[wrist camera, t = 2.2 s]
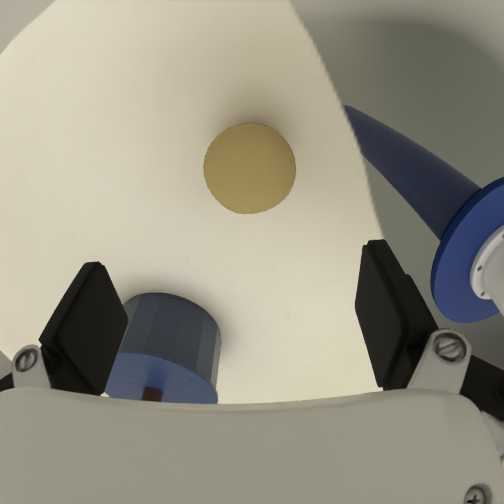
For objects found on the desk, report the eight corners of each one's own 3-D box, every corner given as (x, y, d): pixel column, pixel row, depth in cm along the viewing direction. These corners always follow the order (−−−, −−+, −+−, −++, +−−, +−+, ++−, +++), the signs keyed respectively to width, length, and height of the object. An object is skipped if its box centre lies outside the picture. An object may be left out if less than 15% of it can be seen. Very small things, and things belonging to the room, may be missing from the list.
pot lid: (202, 345, 29) (196, 384, 25) (228, 415, 38) (226, 444, 34) (74, 341, 30) (60, 371, 27) (125, 408, 39) (118, 433, 35)
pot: (209, 290, 37) (198, 353, 29) (228, 362, 45) (223, 417, 37) (104, 294, 38) (77, 348, 30) (139, 361, 46) (125, 410, 38)
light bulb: (234, 186, 29) (224, 242, 21) (204, 127, 26) (178, 160, 18) (297, 162, 28) (314, 209, 20) (270, 99, 25) (277, 117, 16)
